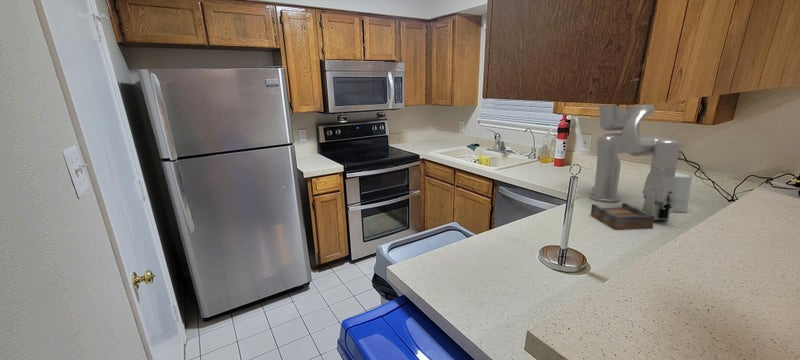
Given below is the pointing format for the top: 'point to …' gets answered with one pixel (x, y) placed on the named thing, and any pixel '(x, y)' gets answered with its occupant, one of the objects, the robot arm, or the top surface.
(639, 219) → the brown wooden tray
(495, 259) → the top surface
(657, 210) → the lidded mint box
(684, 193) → the skincare box
